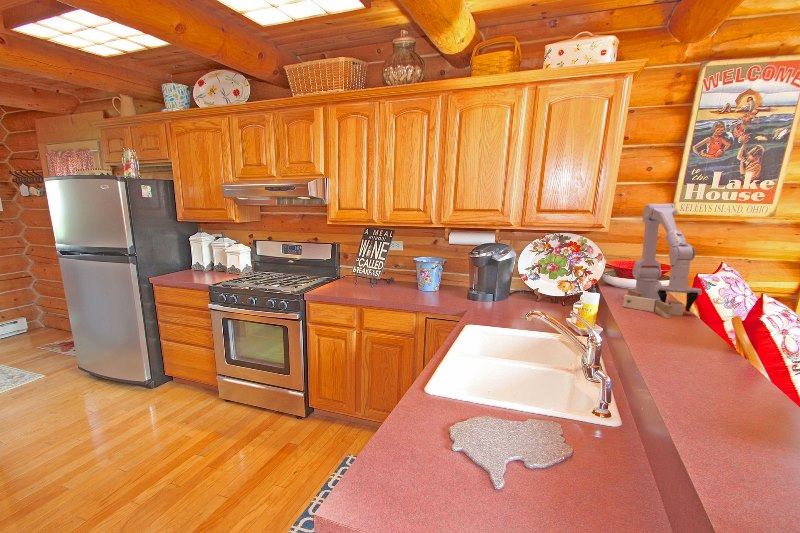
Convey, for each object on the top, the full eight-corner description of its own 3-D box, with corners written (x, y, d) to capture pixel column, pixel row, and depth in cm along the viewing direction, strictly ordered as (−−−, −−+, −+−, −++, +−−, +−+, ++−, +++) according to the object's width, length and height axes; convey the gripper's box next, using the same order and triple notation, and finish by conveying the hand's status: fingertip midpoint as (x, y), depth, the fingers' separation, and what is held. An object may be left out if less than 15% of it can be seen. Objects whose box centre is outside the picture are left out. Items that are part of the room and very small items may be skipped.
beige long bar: (630, 300, 162) (631, 289, 161) (670, 318, 134) (672, 305, 134) (627, 300, 162) (628, 289, 161) (666, 318, 134) (668, 305, 134)
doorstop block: (667, 311, 143) (668, 301, 143) (679, 313, 142) (680, 302, 141) (669, 314, 140) (671, 303, 139) (682, 315, 138) (683, 304, 137)
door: (623, 306, 151) (625, 294, 151) (657, 312, 142) (659, 300, 141) (622, 307, 150) (623, 295, 149) (656, 313, 141) (657, 301, 140)
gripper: (658, 276, 138) (655, 310, 140) (706, 279, 132) (701, 314, 134) (655, 274, 144) (651, 306, 146) (699, 276, 138) (695, 310, 140)
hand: (675, 310), depth 140 cm, fingers open, 7 cm apart
